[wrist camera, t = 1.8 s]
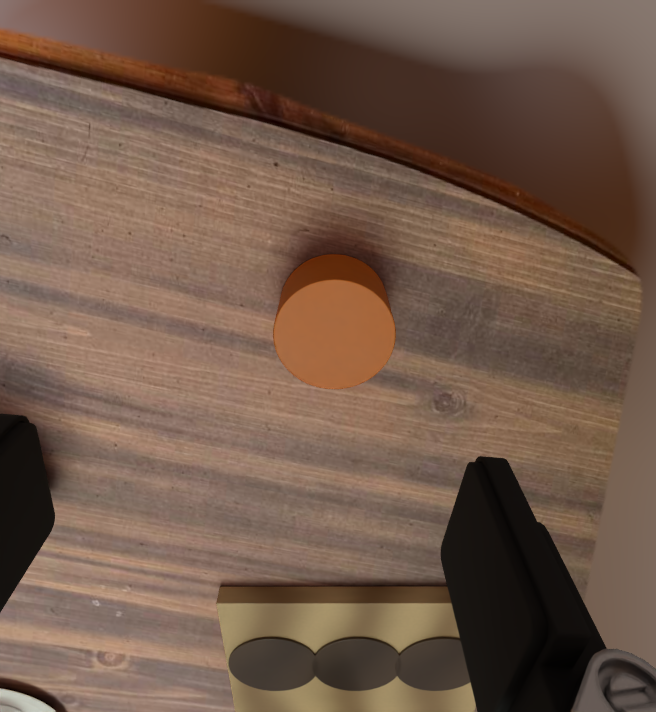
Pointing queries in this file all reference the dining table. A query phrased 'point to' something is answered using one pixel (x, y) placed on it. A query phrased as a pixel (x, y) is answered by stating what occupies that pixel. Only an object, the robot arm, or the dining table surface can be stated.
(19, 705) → the candle holder
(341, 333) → the cylinder
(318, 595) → the board
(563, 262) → the dining table surface
